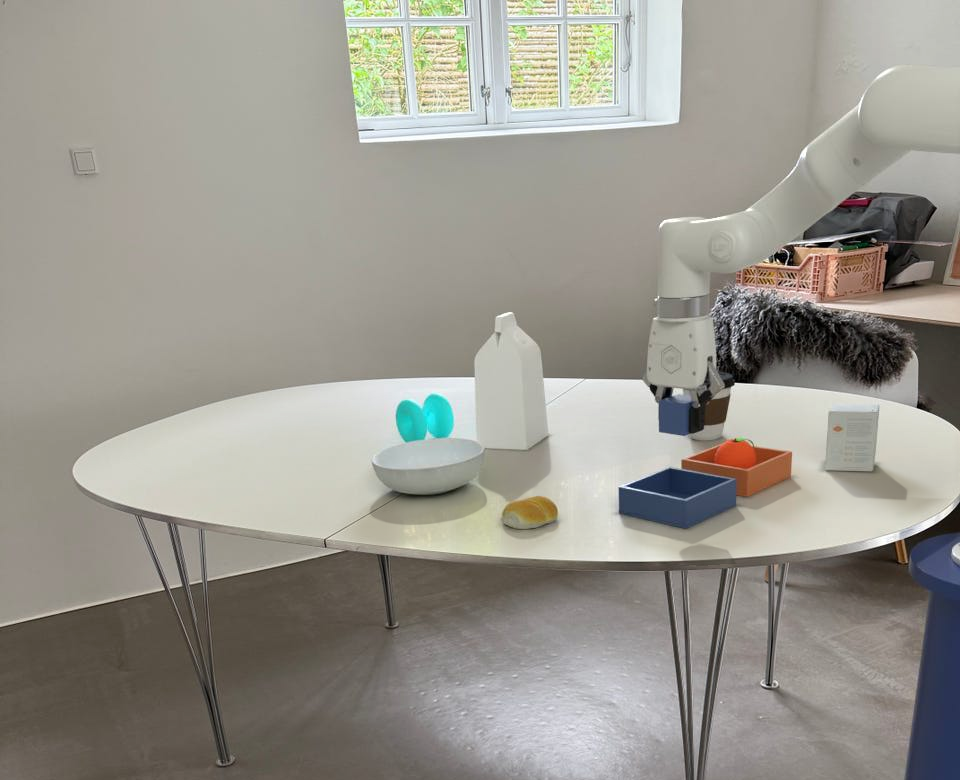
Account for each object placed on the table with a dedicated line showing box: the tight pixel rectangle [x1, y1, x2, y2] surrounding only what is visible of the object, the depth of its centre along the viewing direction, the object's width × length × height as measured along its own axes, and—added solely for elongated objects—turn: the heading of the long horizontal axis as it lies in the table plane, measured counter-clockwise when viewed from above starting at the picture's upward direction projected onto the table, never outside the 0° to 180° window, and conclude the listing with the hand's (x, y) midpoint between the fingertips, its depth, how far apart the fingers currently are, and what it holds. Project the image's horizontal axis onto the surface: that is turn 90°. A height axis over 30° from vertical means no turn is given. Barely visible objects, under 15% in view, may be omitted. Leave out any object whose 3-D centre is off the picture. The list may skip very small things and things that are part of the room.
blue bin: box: [618, 466, 737, 529], centre depth 154 cm, size 13×13×4 cm
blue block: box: [658, 393, 693, 437], centre depth 148 cm, size 5×5×5 cm
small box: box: [824, 403, 880, 472], centre depth 165 cm, size 8×6×10 cm
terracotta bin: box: [680, 442, 793, 498], centre depth 165 cm, size 13×13×4 cm
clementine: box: [714, 437, 756, 469], centre depth 164 cm, size 8×7×7 cm
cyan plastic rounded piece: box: [395, 392, 455, 443], centre depth 207 cm, size 10×10×10 cm
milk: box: [473, 312, 549, 451], centre depth 197 cm, size 12×12×26 cm
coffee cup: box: [682, 371, 736, 441], centre depth 191 cm, size 11×11×12 cm
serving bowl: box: [371, 437, 486, 496], centre depth 176 cm, size 21×21×7 cm
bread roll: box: [501, 495, 559, 530], centre depth 155 cm, size 8×9×4 cm
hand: (681, 428), depth 149 cm, fingers closed on blue block, 5 cm apart
